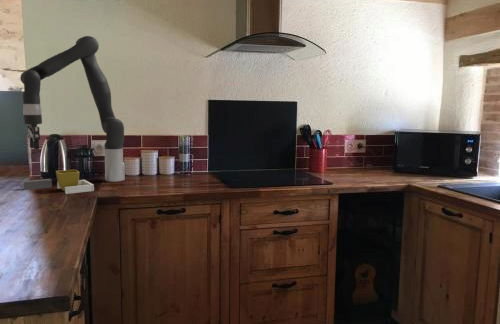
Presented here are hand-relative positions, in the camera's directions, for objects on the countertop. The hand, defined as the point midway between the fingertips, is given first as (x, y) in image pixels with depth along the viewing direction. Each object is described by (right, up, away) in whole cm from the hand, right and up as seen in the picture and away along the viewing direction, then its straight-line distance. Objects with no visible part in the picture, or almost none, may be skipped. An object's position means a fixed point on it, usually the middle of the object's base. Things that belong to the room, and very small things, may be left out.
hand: (34, 148), depth 193 cm
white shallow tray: (+19, -20, +1) cm, 27 cm away
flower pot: (+16, -20, 0) cm, 26 cm away
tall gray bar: (0, -19, +3) cm, 20 cm away
